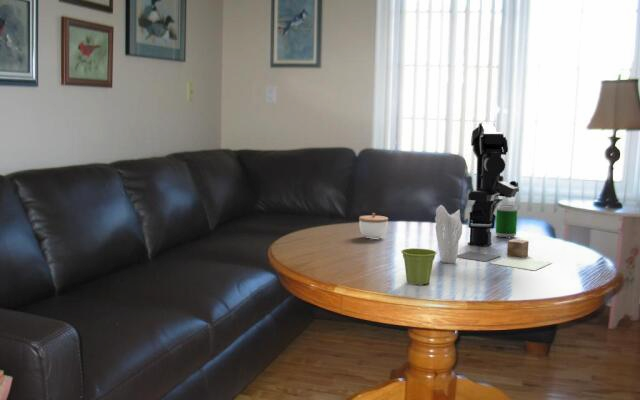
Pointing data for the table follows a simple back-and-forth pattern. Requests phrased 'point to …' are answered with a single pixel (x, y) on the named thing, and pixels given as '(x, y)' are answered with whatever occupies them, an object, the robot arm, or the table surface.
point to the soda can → (506, 221)
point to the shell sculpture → (448, 234)
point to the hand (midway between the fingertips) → (488, 221)
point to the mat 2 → (521, 263)
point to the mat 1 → (477, 256)
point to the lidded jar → (373, 225)
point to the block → (517, 248)
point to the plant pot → (418, 265)
